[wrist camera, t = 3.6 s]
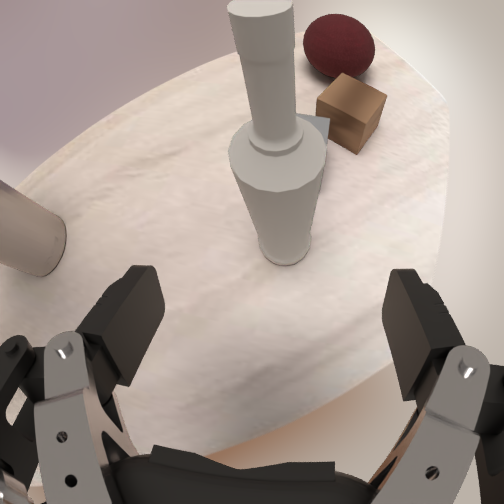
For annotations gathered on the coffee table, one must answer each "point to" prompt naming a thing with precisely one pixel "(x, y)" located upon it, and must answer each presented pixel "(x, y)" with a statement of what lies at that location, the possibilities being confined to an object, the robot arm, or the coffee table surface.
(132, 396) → the coffee table surface
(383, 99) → the walnut cube
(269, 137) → the bottle
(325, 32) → the decorative ball
